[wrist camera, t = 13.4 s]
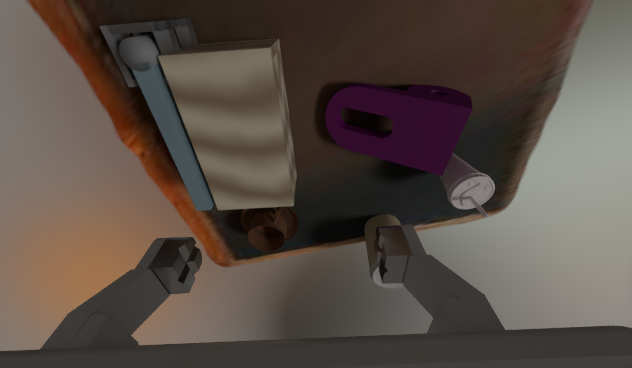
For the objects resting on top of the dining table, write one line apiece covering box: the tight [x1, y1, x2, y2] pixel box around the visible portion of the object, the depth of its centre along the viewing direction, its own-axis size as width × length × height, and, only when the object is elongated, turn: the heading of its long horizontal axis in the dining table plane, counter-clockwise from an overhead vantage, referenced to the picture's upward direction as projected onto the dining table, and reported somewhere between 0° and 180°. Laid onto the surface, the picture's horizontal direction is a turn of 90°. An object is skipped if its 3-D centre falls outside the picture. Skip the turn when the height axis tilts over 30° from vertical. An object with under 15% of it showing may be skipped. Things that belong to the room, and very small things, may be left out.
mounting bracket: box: [325, 83, 473, 176], centre depth 38 cm, size 10×9×19 cm
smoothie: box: [439, 153, 495, 218], centre depth 39 cm, size 6×6×14 cm
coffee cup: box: [364, 214, 404, 288], centre depth 50 cm, size 9×9×12 cm
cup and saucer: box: [240, 206, 299, 251], centre depth 50 cm, size 12×12×6 cm
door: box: [119, 30, 215, 211], centre depth 36 cm, size 23×4×10 cm, turn 4°
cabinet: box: [99, 18, 297, 210], centre depth 36 cm, size 25×17×9 cm
